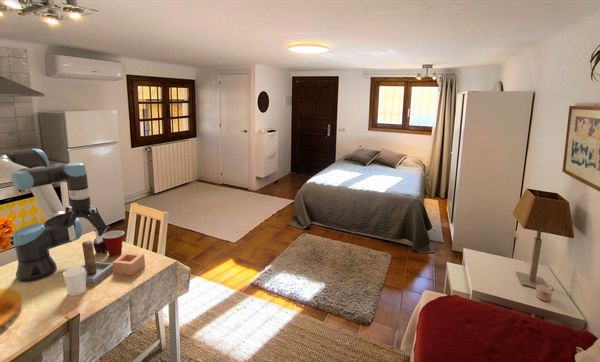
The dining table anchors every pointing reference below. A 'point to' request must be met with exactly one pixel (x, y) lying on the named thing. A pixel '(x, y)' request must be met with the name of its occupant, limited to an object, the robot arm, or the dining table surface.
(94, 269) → the walnut dowel
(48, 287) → the dining table surface
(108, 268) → the grey tray
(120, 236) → the plastic cup
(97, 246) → the mate gourd
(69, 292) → the white cup
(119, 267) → the terracotta block
